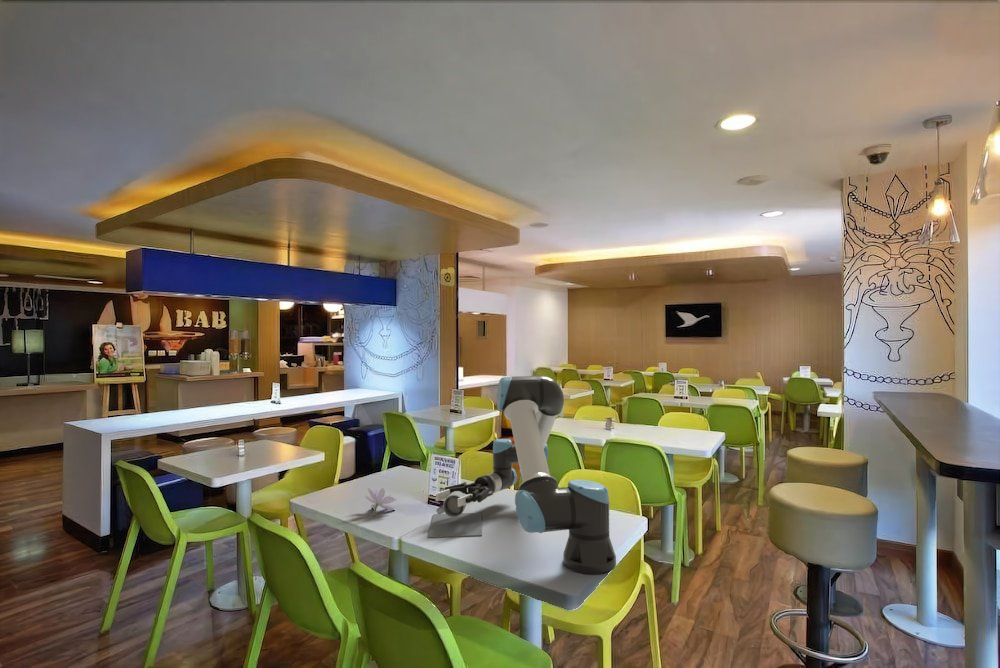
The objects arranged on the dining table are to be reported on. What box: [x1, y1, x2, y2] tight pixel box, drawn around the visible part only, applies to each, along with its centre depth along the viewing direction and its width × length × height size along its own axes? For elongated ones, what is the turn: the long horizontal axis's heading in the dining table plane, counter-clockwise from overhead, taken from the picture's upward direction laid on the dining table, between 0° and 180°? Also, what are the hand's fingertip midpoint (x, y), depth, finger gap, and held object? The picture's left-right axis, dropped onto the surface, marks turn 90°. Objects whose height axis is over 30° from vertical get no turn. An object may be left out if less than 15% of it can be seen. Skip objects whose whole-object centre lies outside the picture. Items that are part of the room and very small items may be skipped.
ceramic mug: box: [436, 491, 467, 517], centre depth 180 cm, size 11×8×8 cm
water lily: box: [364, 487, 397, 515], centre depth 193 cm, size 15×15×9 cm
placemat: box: [427, 512, 483, 539], centre depth 179 cm, size 22×18×1 cm
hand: (447, 500), depth 176 cm, fingers closed on ceramic mug, 10 cm apart
